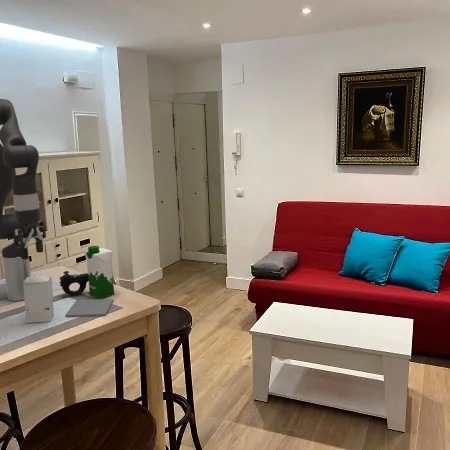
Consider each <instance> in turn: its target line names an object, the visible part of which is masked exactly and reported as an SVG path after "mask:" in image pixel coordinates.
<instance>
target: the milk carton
mask: <svg viewBox="0 0 450 450" xmlns="http://www.w3.org/2000/svg"><path fill="white" fill-rule="evenodd" d="M84 256H85V259H86V265H87V268H86V269H87V273H88V279H89V281H88V293H89V296H91V297H93V298H95V299H106V297H110V296H113V295H115V286H114V274H113V273H114V272H113V262H112V261H113V250H110V249H108V248H104V247H99V245H90V246H88V247H87V250H86V251H84Z"/></svg>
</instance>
